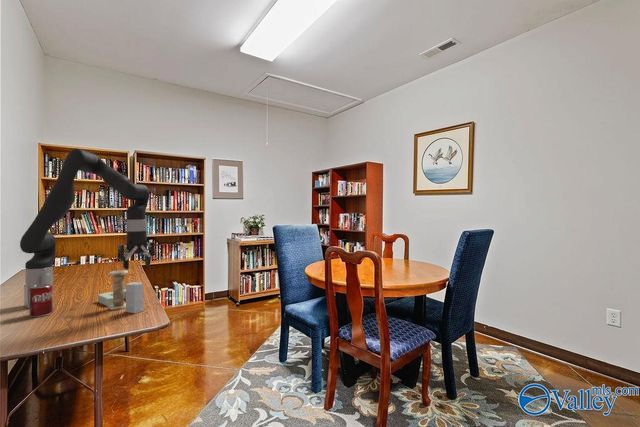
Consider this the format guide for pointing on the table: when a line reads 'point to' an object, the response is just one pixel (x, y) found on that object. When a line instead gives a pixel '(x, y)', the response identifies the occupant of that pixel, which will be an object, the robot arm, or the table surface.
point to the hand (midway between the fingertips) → (137, 267)
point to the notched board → (107, 298)
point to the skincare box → (134, 297)
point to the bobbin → (118, 289)
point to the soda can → (40, 300)
